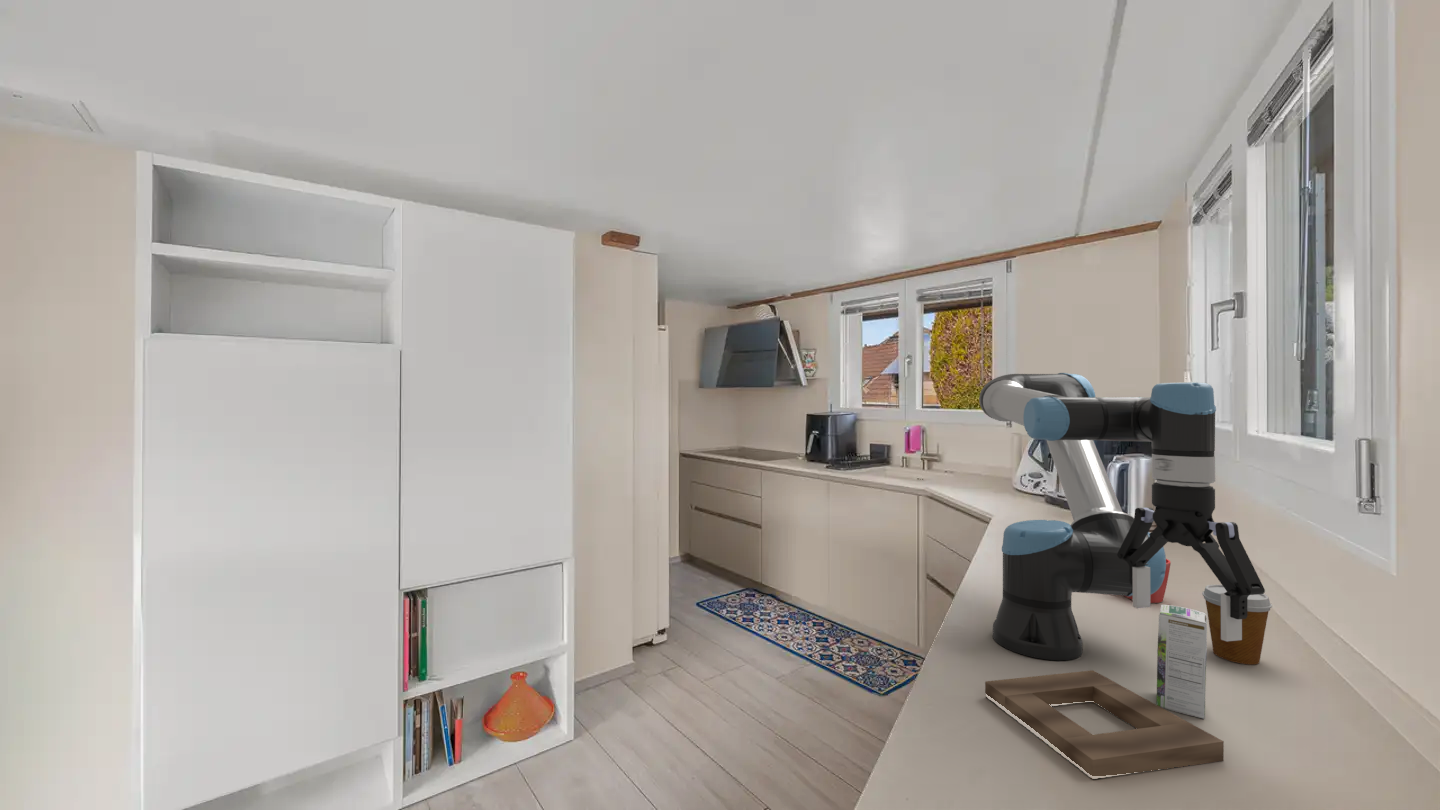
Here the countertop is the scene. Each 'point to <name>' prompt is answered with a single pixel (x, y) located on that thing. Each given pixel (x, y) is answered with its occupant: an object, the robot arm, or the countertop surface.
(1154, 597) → the flower pot
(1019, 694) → the wooden square frame
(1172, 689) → the syrup box
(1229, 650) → the disposable coffee cup
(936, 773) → the countertop surface
